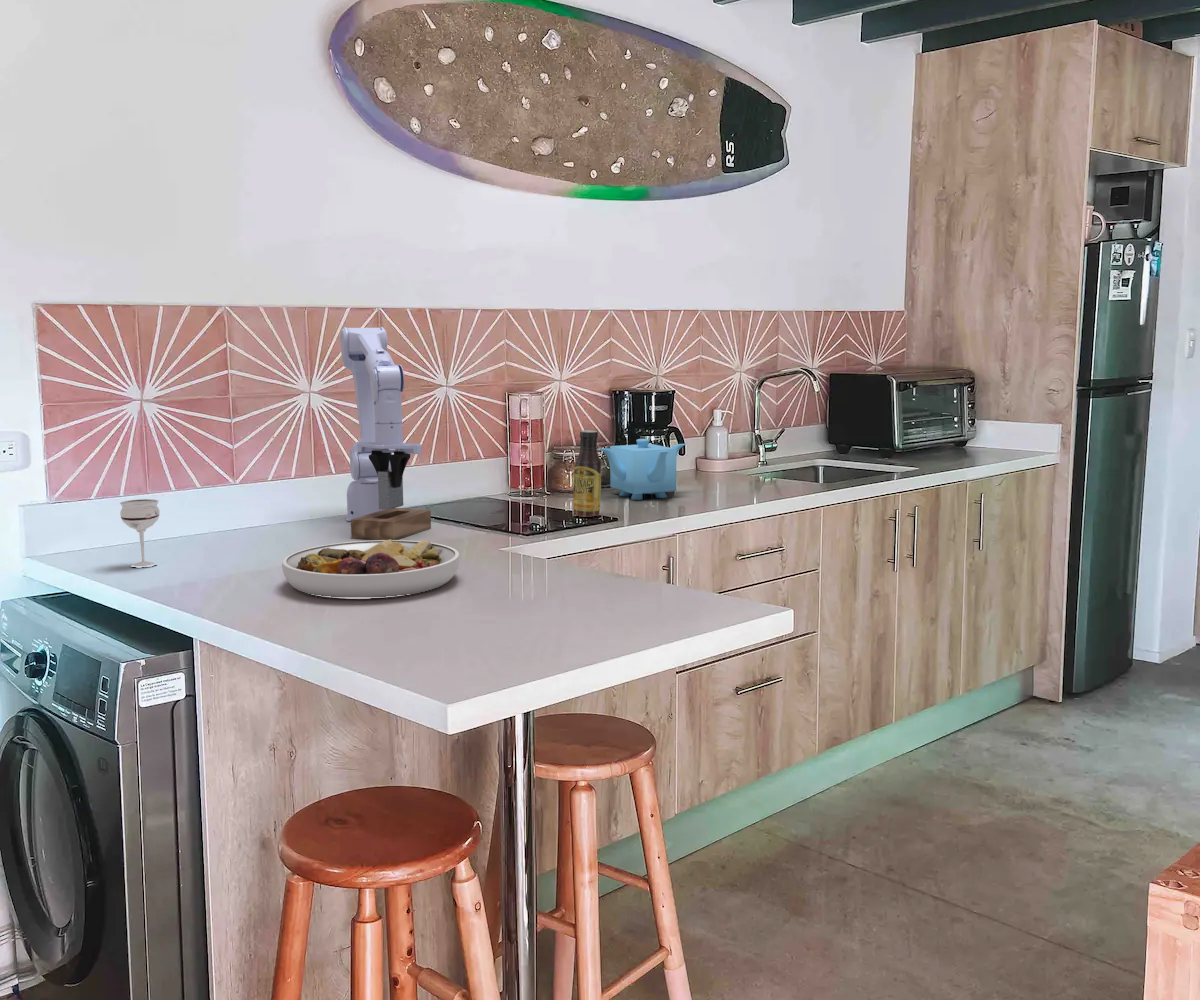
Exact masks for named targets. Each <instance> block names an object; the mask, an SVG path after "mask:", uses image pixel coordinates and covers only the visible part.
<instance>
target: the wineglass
mask: <svg viewBox="0 0 1200 1000" xmlns="http://www.w3.org/2000/svg"><path fill="white" fill-rule="evenodd" d="M158 503H159V500H158V499H151V498H150V499H149V498H148V499H146V498H141V499H131V500H124V501H121V502H120V503H119V504H120V505H121V510H120V513H119V514H120V515H119V516H120V519H121V520H122V522H123V524H125V525H126V526H127V527H129V528H130V529H133V530H135V531H136V532H137V533H138V535H139V542H140V543H139V545H140V551H141V561H138V562H136V563H134V564H132V565H134V566H147V565H151V564H154V563H155V562H151V561H146V560H145V536H144V535H145V532H146V530H148V529H149V528H150V527H153V526H154V525H155V523H157V522H158V520H159V518H160V512H161V511H160V508H159V506H158Z"/></svg>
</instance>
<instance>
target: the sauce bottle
mask: <svg viewBox="0 0 1200 1000" xmlns="http://www.w3.org/2000/svg"><path fill="white" fill-rule="evenodd" d="M598 433H599V432H598V431H597V430H591V429H588V430H586V429H585V430H580V432H579V437H580V446H579V447H580V448H579V449H580V450H579V453H578V455H577V458H576V460H575V464H574V467H573V468H574V469H573V470H574V472H573V473H574V474H573V501H572V502H573V503H572V504H573V505H572V506H573V507H572V508H573V515H576V516H580V517H592V516H597V517H599V516H600V511H601V497H602V496H601V495H602V493H601V492H602V491H601V489H602V459H601V457H600V455H599V454H598V447H597V445H598V437H599V436H598V435H599V434H598ZM576 516H575V517H576ZM580 517H579V518H580Z"/></svg>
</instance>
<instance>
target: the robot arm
mask: <svg viewBox="0 0 1200 1000" xmlns="http://www.w3.org/2000/svg"><path fill="white" fill-rule="evenodd" d="M339 343H340V351H341V352H340V354H341V361H342V363H343V367H344V368H346V369H348V370H350V371H351V375H352V378H353V383H354V392H355V393H354V394H355V400H356V401H355V402H356V408H357V418H358V419H357V420H358V426H359V436H360V439H359V440H357V442H355V443H354V444H353V445H352V446H351V449H350V451H349V458H350V459H349V468H350V475H351V478H352V481H351V482H350V483H349V485H348V486H347V490H346V510H347V511H346V512H347V518H345V521H346V522H351V519H354V518H358V517H361V516H364V515H368V514H371V513H374V512H378V511H381V510H385V509H379V494H378V471H382V470H387V469H391V470H392V484H393V488H397V487H401V481H402V476H403V477H404V472H405V470H406V466H407V464H408V462H409V461H410V459H411V455H420V454H422V453H423V450H422V449H423V447H422V446H423V445H422V443H409V442H404V441H403V440H404V439H403V411H402V410H403V409H402V408H403V406H402V405H403V404H402V393H403V392H404V389H405V373H404V368H403V366H402V365H401V364H395V362H394V360H393V358H392V356H391V354H390V353H389V352H388V351H387V350H388V334H387V330H386V329H385V328H384V327H383V326H379V327H345V326H344V327H343V328H342V329H341V330H340V337H339Z"/></svg>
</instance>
